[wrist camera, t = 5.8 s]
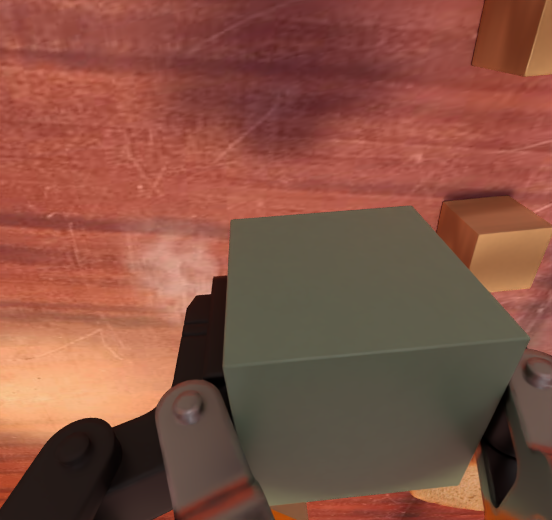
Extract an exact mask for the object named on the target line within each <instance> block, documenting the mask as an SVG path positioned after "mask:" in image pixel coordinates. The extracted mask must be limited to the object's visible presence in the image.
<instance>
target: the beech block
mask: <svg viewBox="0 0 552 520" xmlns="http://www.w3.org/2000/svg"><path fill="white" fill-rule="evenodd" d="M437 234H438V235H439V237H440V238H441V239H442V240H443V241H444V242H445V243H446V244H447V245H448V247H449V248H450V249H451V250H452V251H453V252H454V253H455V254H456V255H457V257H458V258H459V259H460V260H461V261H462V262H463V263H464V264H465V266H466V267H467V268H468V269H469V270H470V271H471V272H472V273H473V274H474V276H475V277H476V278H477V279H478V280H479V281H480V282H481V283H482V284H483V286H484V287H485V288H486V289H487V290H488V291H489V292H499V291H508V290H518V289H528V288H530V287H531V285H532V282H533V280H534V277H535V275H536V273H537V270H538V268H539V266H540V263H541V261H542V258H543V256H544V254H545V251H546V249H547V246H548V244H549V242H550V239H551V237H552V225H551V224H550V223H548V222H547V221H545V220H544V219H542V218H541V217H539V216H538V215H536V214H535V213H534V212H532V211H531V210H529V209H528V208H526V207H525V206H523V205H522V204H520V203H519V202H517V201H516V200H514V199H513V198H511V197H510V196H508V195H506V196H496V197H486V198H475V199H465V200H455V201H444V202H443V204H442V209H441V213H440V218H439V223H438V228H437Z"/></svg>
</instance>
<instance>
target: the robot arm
mask: <svg viewBox="0 0 552 520" xmlns="http://www.w3.org/2000/svg"><path fill="white" fill-rule="evenodd" d="M226 293H227V276H216V277H213V283H212V292H211V294H209V295H197V296H196V297H195V298H194V299H193V301H192V302H191V303H190V305H189V306H188V307H187V310H186V316H185V321H184V326H183V332H182V337H181V342H180V348H179V353H178V358H177V364H176V369H175V374H174V380H173V384H172V387H171V389H169V390H168V391H167V392H166V393H165V394H164V395H163V396H162V398H161V399H160V401H159V403H158V405H157V407H156V408H154V409H153V410H152V411H150V412H148V413H146V414H145V415H142V416H140V417H138V418H135V419H133V420H130V421H128V422H125V423H123V424H120V425H117V426H115V427H111V426H110V425H109V424H108V423H107V422H106V421H104V420H102V419H98V418H85V419H81V420H77V421H75V422H72V423H70V424H69V425H67V426H65V427H63V428H62V429H60V430H59V431H58V432H57V433H55V434H54V435H53V436H52V437H51V438H50V439H49V440H48V441H47V443H46V444H45V445H44V447H43V448H42V449H41V451H40V452H39V454H38V455H37V457H36V458H35V460H34V461H33V462H32V464H31V465H30V467H29V468H28V470H27V471H26V473H25V474H24V475H23V477H22V478H21V480H20V481H19V483H18V484H17V486H16V487H15V488H14V490H13V491H12V493H11V494H10V496H9V497H8V499H7V500H6V502H5V503H4V504H3V506H2V507H1V509H0V520H152V519H155V518H157V517H159V516H161V515H163V514H165V513H167V512H169V511H171V510H173V511H174V518H175V520H275V519H274V516H273V514H272V511H271V509H270V506H269V504H268V501H267V499H266V496H265V494H264V492H263V490H262V488H261V486H260V484H259V482H258V481H257V480H255V478H254V476H253V474H252V472H251V469H250V467H249V464H248V462H247V459H246V456H245V454H244V451H243V449H242V446H241V444H240V441H239V439H238V436H237V434H236V431H235V429H234V423H233V418H232V413H231V408H230V403H229V398H228V393H227V388H226V383H225V378H224V373H223V367H222V364H223V346H224V329H225V311H226ZM475 457H476V464H477V470H478V476H479V482H480V488H481V494H482V500H483V507H484V520H552V356H551V355H549V354H546V353H544V352H541V351H537V350H533V349H528V348H527V347H526V349H525V351H524V353H523V355H522V357H521V359H520V361H519V363H518V365H517V367H516V369H515V371H514V373H513V375H512V377H511V379H510V381H509V383H508V385H507V388H506V390H505V392H504V394H503V396H502V398H501V400H500V402H499V404H498V406H497V408H496V410H495V412H494V414H493V416H492V418H491V420H490V422H489V424H488V426H487V428H486V430H485V432H484V435H483V437H482V439H481V441H480V443H479V445H478V447H477V449H476V451H475Z"/></svg>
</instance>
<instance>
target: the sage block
mask: <svg viewBox="0 0 552 520" xmlns="http://www.w3.org/2000/svg"><path fill="white" fill-rule="evenodd" d="M529 341H530V337H529V336H528V335H527V333H526V332H525V331H524V330H523V329H522V328H521V327H520V326H519V325H518V323H517V322H516V321H515V320H514V319H513V318H512V317H511V316H510V315H509V313H508V312H507V311H506V310H505V309H504V308H503V307H502V306H501V304H500V303H499V302H498V301H497V300H496V299H495V298H494V297H493V296H492V294H491V293H490V292H489V291H488V290H487V289H486V288H485V287H484V286H483V284H482V283H481V282H480V281H479V280H478V279H477V278H476V277H475V276H474V274H473V273H472V272H471V271H470V270H469V269H468V268H467V267H466V266H465V264H464V263H463V262H462V261H461V260H460V259H459V258H458V257H457V255H456V254H455V253H454V252H453V251H452V250H451V249H450V248H449V247H448V245H447V244H446V243H445V242H444V241H443V240H442V239H441V238H440V237H439V235H438V234H437V233H436V232H435V231H434V230H433V229H432V228H431V227H430V225H429V224H428V223H427V222H426V221H425V220H424V219H423V218H422V217H421V215H420V214H419V213H418V212H417V211H416V210H415V209H414V208H413V206H400V207H387V208H374V209H361V210H348V211H336V212H323V213H310V214H297V215H285V216H272V217H259V218H246V219H234V220H231V222H230V239H229V257H228V275H227V293H226V311H225V329H224V346H223V364H222V367H223V373H224V378H225V383H226V388H227V393H228V398H229V403H230V408H231V413H232V418H233V423H234V429H235V431H236V434H237V436H238V439H239V441H240V444H241V446H242V449H243V451H244V454H245V456H246V459H247V462H248V464H249V467H250V469H251V472H252V474H253V476H254V478H255V480H257V481H258V482H259V484H260V486H261V488H262V490H263V492H264V494H265V496H266V499H267V501H268V504H269V506H274V505H283V504H293V503H302V502H311V501H320V500H329V499H339V498H348V497H357V496H366V495H375V494H385V493H394V492H403V491H412V490H421V489H431V488H440V487H449V486H458V485H459V484H460V482H461V480H462V477H463V475H464V473H465V471H466V469H467V467H468V465H469V463H470V461H471V459H472V457H473V455H474V453H475V451H476V449H477V447H478V445H479V443H480V441H481V439H482V437H483V435H484V432H485V430H486V428H487V426H488V424H489V422H490V420H491V418H492V416H493V414H494V412H495V410H496V408H497V406H498V404H499V402H500V400H501V398H502V396H503V394H504V392H505V390H506V388H507V385H508V383H509V381H510V379H511V377H512V375H513V373H514V371H515V369H516V367H517V365H518V363H519V361H520V359H521V357H522V355H523V353H524V351H525V349H526V347H527V345H528V343H529Z"/></svg>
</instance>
